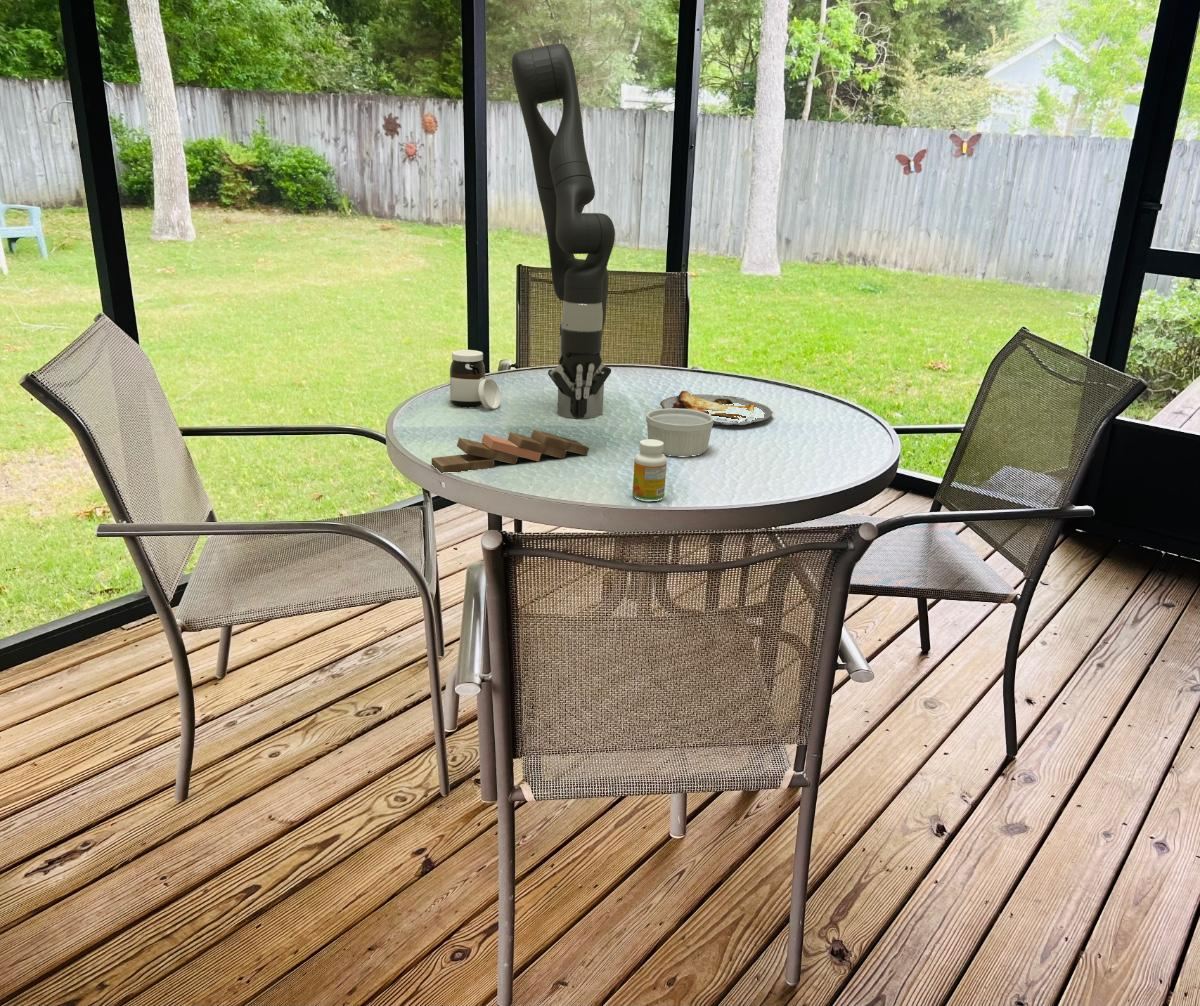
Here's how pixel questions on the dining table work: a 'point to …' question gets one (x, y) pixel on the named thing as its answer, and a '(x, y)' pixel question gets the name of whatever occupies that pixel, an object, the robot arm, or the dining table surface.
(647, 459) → the supplement bottle
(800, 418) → the dining table surface
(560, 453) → the domino
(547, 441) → the domino
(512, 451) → the domino
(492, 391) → the spread jar
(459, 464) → the domino
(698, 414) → the ramekin
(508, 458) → the domino
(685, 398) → the food plate
